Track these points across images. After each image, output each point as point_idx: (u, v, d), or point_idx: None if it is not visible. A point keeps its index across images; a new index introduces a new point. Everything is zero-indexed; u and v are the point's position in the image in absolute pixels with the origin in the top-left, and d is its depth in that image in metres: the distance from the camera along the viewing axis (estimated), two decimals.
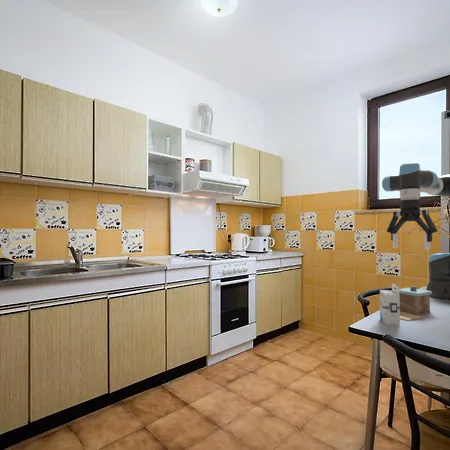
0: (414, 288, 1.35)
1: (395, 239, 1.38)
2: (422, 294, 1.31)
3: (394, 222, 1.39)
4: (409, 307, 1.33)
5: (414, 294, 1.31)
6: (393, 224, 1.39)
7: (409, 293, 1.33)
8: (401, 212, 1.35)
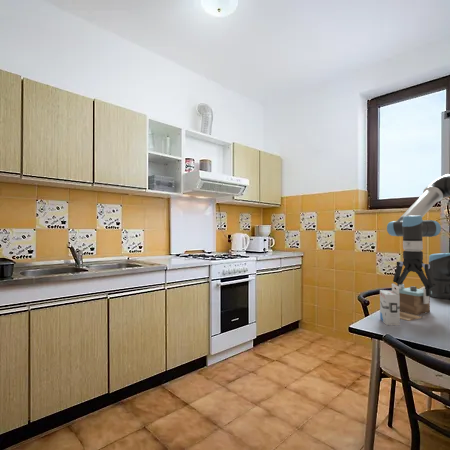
0: (414, 288, 1.35)
1: None
2: (422, 294, 1.31)
3: (399, 272, 1.42)
4: (409, 307, 1.33)
5: (414, 294, 1.31)
6: (398, 274, 1.42)
7: (409, 293, 1.33)
8: (404, 262, 1.39)
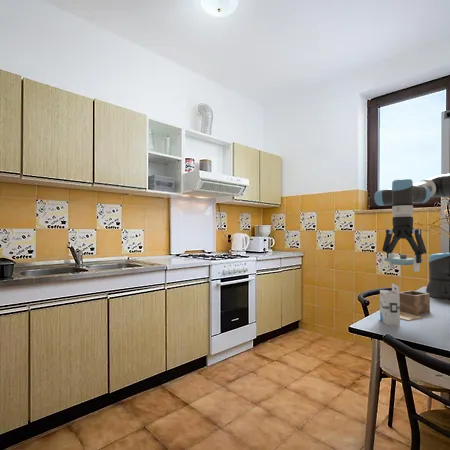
0: (404, 256, 1.27)
1: None
2: (412, 261, 1.23)
3: (388, 240, 1.34)
4: (409, 307, 1.33)
5: (403, 261, 1.23)
6: (388, 242, 1.34)
7: (398, 260, 1.25)
8: (393, 229, 1.31)
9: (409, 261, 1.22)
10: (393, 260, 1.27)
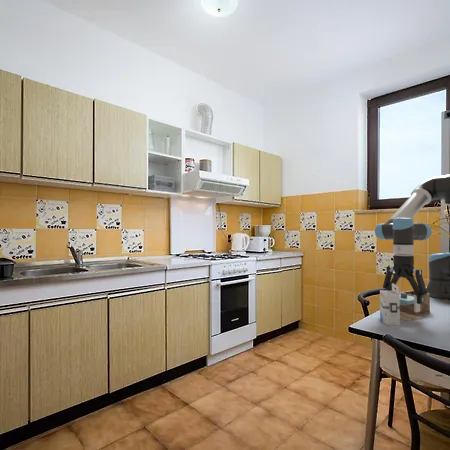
0: (404, 295, 1.27)
1: None
2: (413, 301, 1.23)
3: (389, 277, 1.34)
4: (409, 307, 1.33)
5: (404, 301, 1.23)
6: (388, 279, 1.34)
7: None
8: (394, 267, 1.31)
9: (410, 302, 1.22)
10: None
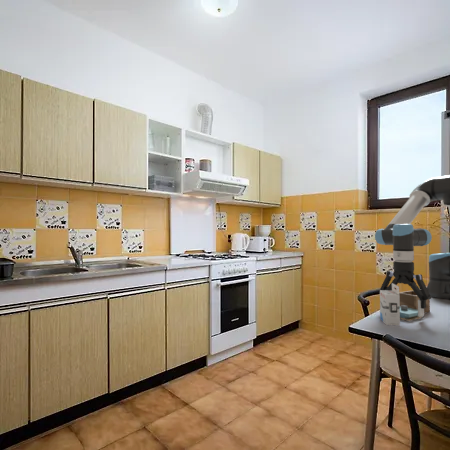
0: (405, 307, 1.27)
1: None
2: (413, 315, 1.23)
3: (387, 282, 1.35)
4: (409, 307, 1.33)
5: (404, 315, 1.23)
6: (386, 283, 1.35)
7: None
8: (394, 273, 1.31)
9: (410, 315, 1.22)
10: None
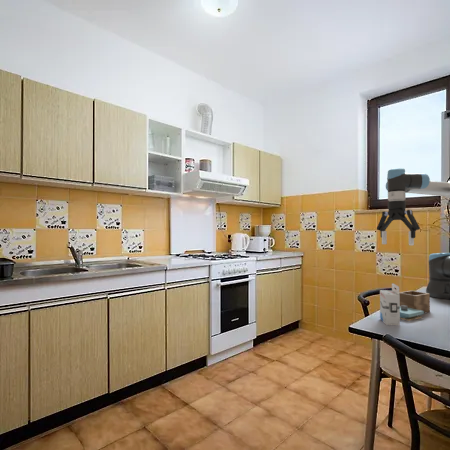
0: (405, 307, 1.27)
1: (384, 236, 1.55)
2: (413, 315, 1.23)
3: (383, 221, 1.55)
4: (409, 307, 1.33)
5: (404, 315, 1.23)
6: (382, 222, 1.56)
7: None
8: (389, 212, 1.52)
9: (410, 315, 1.22)
10: None
